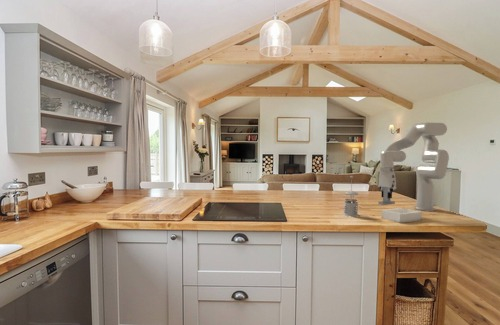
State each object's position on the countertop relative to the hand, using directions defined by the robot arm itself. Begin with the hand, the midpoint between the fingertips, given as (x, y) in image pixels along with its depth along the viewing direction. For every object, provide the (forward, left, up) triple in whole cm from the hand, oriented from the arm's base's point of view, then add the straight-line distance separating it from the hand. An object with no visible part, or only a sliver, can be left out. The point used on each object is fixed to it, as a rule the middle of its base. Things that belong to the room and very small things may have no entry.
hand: (386, 197), depth 172 cm
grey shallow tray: (+5, +15, -10) cm, 19 cm away
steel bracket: (0, 0, -4) cm, 4 cm away
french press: (+26, -4, -11) cm, 28 cm away
